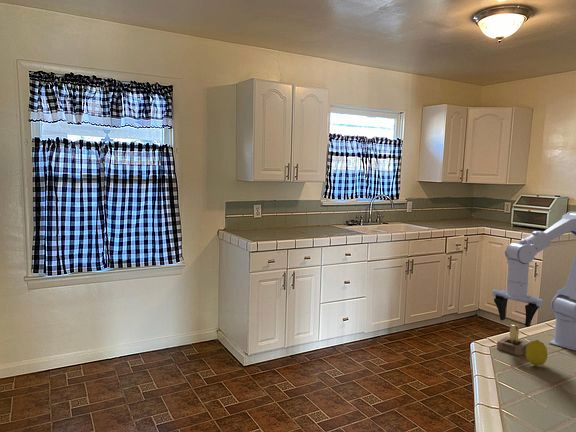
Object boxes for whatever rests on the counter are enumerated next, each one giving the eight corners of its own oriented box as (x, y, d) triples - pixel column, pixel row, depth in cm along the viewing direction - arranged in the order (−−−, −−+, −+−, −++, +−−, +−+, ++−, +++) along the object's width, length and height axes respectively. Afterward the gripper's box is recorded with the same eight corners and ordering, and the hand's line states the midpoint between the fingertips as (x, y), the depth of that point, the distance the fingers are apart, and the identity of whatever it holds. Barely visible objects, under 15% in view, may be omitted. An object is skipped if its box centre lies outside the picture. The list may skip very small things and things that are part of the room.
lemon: (549, 371, 125) (551, 344, 124) (528, 369, 126) (530, 342, 125) (542, 363, 131) (544, 337, 130) (522, 361, 132) (524, 335, 131)
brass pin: (510, 347, 142) (512, 323, 141) (518, 349, 140) (520, 325, 140) (507, 349, 141) (508, 325, 140) (515, 351, 139) (517, 327, 138)
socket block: (506, 343, 145) (507, 336, 145) (528, 350, 140) (529, 342, 140) (497, 348, 141) (497, 341, 141) (519, 355, 136) (520, 348, 135)
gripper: (488, 278, 141) (486, 319, 142) (537, 288, 130) (534, 332, 132) (498, 275, 146) (496, 315, 147) (546, 284, 135) (543, 327, 136)
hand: (514, 322), depth 140 cm, fingers open, 7 cm apart
